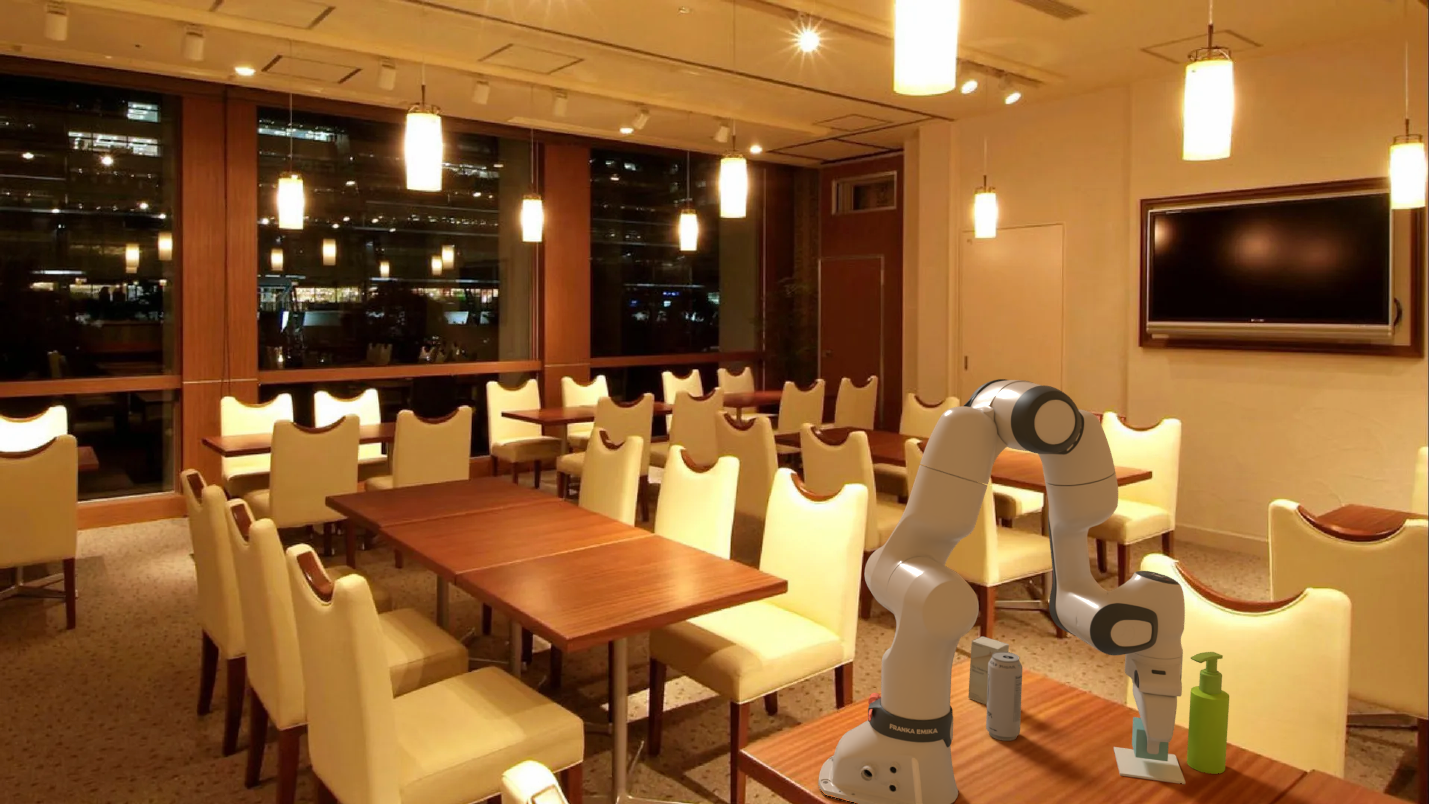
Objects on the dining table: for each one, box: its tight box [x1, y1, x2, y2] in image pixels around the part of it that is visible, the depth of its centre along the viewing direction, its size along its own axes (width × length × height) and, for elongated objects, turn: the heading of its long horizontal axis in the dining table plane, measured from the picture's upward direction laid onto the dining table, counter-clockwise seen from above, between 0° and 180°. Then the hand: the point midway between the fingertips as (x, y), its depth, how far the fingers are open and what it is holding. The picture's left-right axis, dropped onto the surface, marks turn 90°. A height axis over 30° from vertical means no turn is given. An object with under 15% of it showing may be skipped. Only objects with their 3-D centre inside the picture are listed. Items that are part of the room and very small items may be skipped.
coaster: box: [1113, 746, 1186, 785], centre depth 163 cm, size 10×10×1 cm
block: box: [1131, 716, 1170, 761], centre depth 163 cm, size 5×5×5 cm
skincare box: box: [967, 635, 1010, 706], centre depth 189 cm, size 6×4×12 cm
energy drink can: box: [985, 651, 1023, 742], centre depth 174 cm, size 6×6×15 cm
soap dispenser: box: [1186, 651, 1230, 775], centre depth 162 cm, size 6×7×20 cm
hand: (1149, 743), depth 163 cm, fingers closed on block, 5 cm apart
